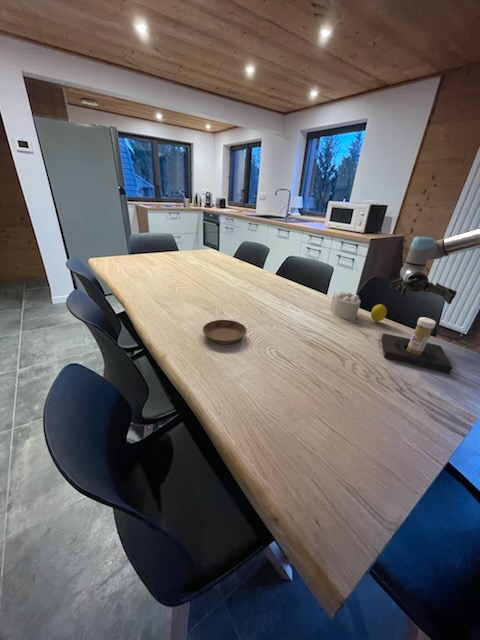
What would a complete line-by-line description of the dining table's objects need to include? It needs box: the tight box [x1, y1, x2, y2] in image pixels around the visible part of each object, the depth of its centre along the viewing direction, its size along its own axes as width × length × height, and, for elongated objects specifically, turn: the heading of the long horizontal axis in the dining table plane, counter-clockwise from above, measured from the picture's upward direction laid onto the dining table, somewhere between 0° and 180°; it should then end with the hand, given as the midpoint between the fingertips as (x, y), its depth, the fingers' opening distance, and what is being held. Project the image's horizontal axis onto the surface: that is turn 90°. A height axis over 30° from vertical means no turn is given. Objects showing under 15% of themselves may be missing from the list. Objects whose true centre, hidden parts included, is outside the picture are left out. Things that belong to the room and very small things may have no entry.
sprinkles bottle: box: [407, 316, 437, 355], centre depth 84 cm, size 5×5×13 cm
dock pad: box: [380, 332, 453, 375], centre depth 88 cm, size 18×14×2 cm
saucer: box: [202, 319, 247, 345], centre depth 90 cm, size 15×15×3 cm
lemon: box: [370, 303, 388, 323], centre depth 109 cm, size 6×6×8 cm
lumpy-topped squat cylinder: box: [329, 291, 362, 321], centre depth 115 cm, size 10×13×9 cm
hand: (427, 296), depth 88 cm, fingers open, 13 cm apart
